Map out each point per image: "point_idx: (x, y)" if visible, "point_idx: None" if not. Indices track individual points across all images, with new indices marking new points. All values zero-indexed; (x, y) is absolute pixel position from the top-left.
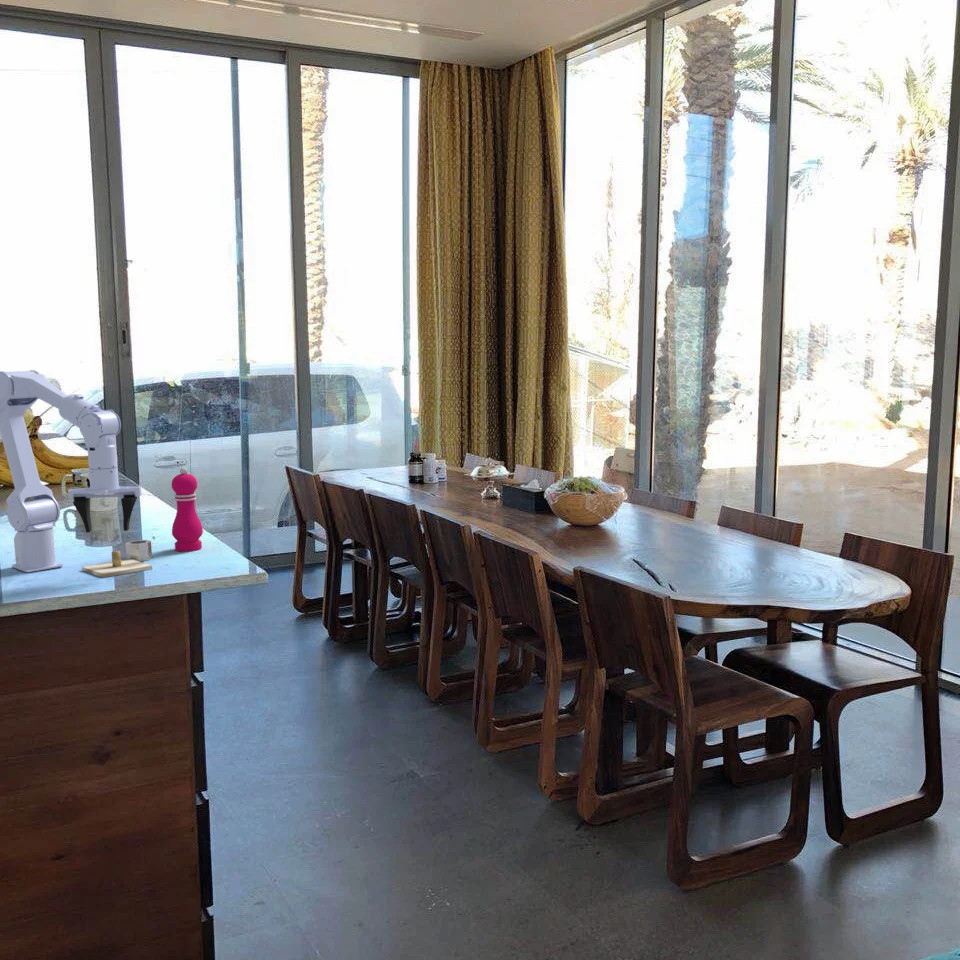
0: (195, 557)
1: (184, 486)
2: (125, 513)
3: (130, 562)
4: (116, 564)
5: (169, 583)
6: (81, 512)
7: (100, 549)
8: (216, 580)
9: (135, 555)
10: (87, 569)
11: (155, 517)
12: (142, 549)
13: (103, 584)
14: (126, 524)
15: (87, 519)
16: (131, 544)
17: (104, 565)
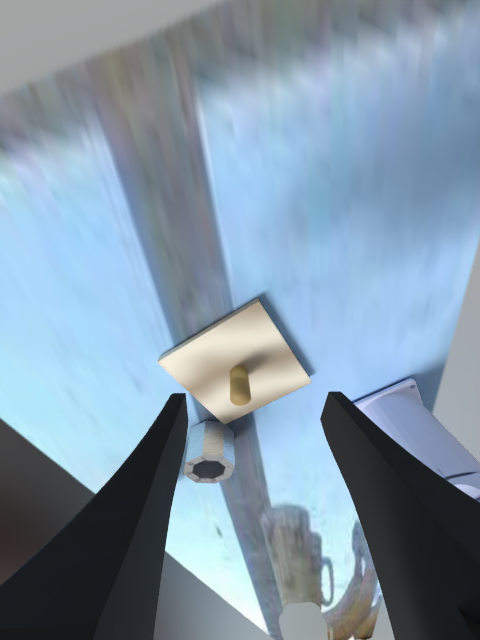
0: (100, 430)
1: None
2: (139, 472)
3: (215, 397)
4: (238, 369)
5: (31, 155)
6: (433, 481)
7: (286, 493)
8: None
9: (212, 431)
10: (299, 363)
11: (238, 588)
12: (197, 444)
13: (247, 212)
14: (162, 413)
15: (365, 443)
16: (218, 455)
17: (266, 383)
